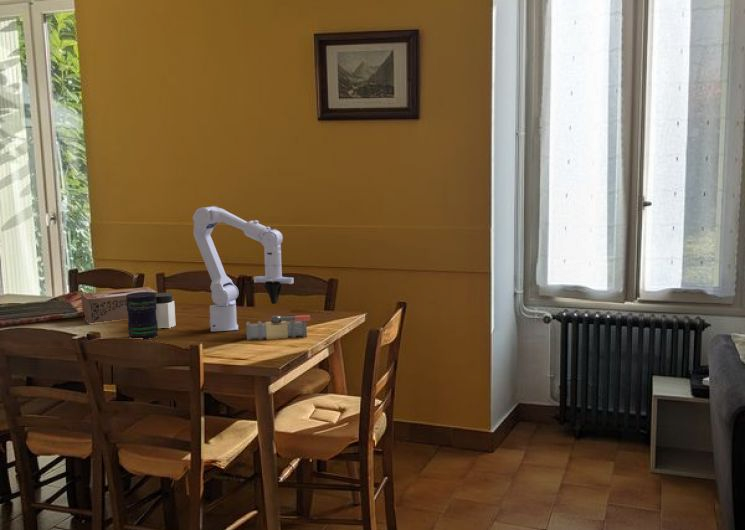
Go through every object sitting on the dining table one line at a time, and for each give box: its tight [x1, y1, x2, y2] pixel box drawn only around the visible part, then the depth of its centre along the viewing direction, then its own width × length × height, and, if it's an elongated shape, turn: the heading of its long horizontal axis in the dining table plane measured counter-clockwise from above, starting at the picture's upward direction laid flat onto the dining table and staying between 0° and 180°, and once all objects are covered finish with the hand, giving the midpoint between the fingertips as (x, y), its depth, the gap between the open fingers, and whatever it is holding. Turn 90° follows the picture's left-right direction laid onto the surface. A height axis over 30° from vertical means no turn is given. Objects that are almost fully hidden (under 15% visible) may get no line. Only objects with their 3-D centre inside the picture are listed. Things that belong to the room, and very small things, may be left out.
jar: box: [155, 292, 176, 329], centre depth 268 cm, size 9×8×12 cm
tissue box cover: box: [80, 286, 159, 323], centre depth 287 cm, size 26×14×10 cm, turn 121°
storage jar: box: [126, 292, 159, 339], centre depth 253 cm, size 10×10×15 cm
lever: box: [270, 314, 311, 323], centre depth 250 cm, size 13×4×2 cm, turn 94°
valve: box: [245, 320, 308, 341], centre depth 250 cm, size 20×6×5 cm, turn 100°
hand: (274, 303), depth 258 cm, fingers closed
